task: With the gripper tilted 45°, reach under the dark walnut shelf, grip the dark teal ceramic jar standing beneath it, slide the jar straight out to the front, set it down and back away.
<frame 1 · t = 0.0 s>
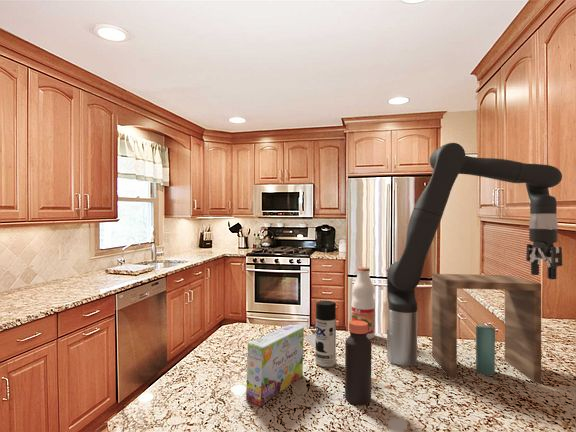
hand: (543, 277, 114), 29 cm above the worktop, tool pointing down, fingers open, 8 cm apart
walnut shelf: (482, 369, 111), on the worktop
fruit juice: (363, 336, 141), on the worktop
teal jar: (485, 371, 109), on the worktop
spray can: (325, 364, 114), on the worktop
bottle: (357, 399, 91), on the worktop
kitchen cleaver: (313, 339, 139), on the worktop
snack box: (276, 388, 97), on the worktop
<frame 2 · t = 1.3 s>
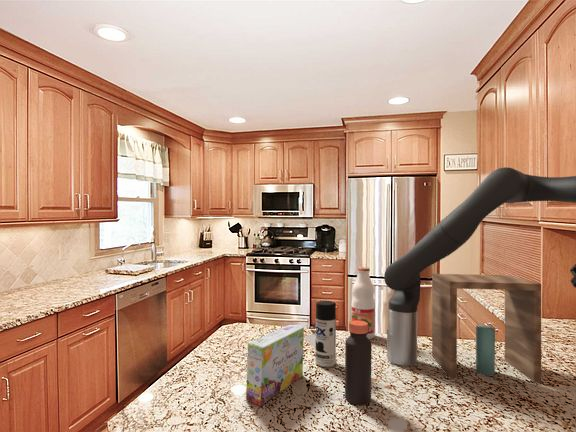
nothing on the worktop moved.
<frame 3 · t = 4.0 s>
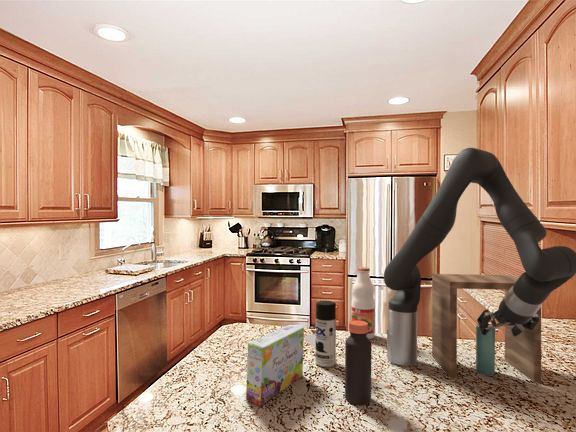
hand: (498, 332, 101), 15 cm above the worktop, tool tilted 45°, fingers open, 8 cm apart
nothing on the worktop moved.
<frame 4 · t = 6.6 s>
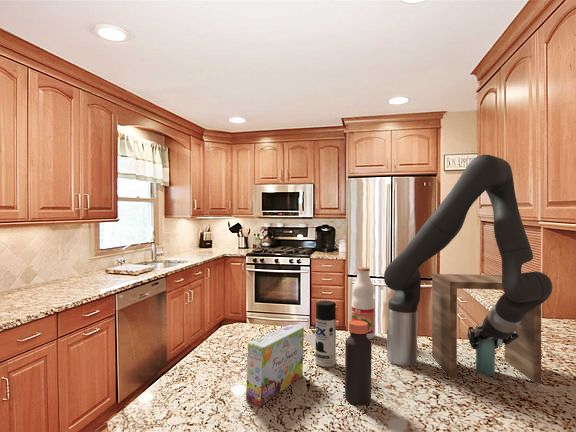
hand: (482, 346, 111), 7 cm above the worktop, tool tilted 45°, fingers closed on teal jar, 5 cm apart
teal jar: (485, 371, 109), on the worktop, touching gripper
everything else where it was.
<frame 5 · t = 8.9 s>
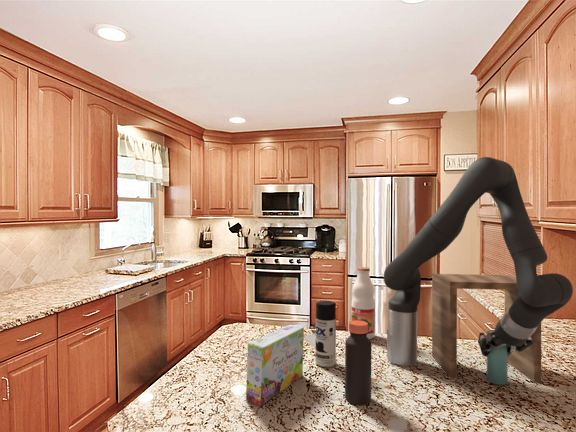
hand: (493, 353, 104), 8 cm above the worktop, tool tilted 45°, fingers closed on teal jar, 5 cm apart
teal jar: (497, 380, 102), on the worktop, touching gripper
everything else where it was.
when the fingers open (7 cm above the worktop, at t = 11.4 s): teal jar stays where it is, on the worktop.
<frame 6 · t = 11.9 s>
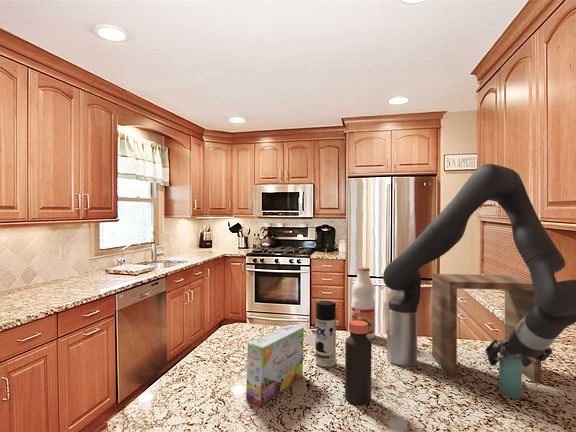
hand: (507, 362, 96), 8 cm above the worktop, tool tilted 45°, fingers open, 8 cm apart
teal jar: (510, 394, 95), on the worktop
everything else where it was.
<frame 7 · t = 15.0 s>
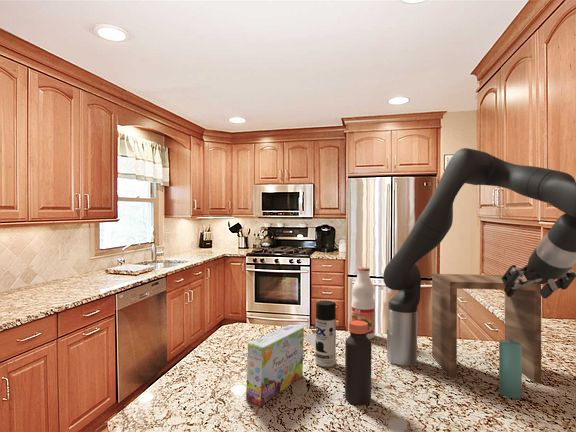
hand: (524, 294, 89), 29 cm above the worktop, tool tilted 45°, fingers open, 8 cm apart
nothing on the worktop moved.
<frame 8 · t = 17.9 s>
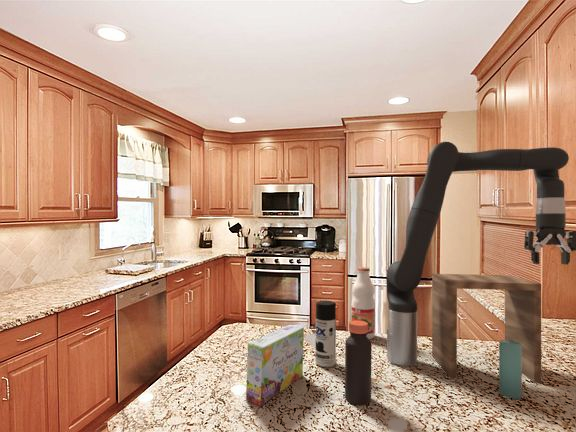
hand: (550, 264, 109), 34 cm above the worktop, tool pointing down, fingers open, 8 cm apart
nothing on the worktop moved.
at the end: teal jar inside the target area (0.1 cm from its centre), on the worktop; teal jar tilted 0°; the gripper is holding nothing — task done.
